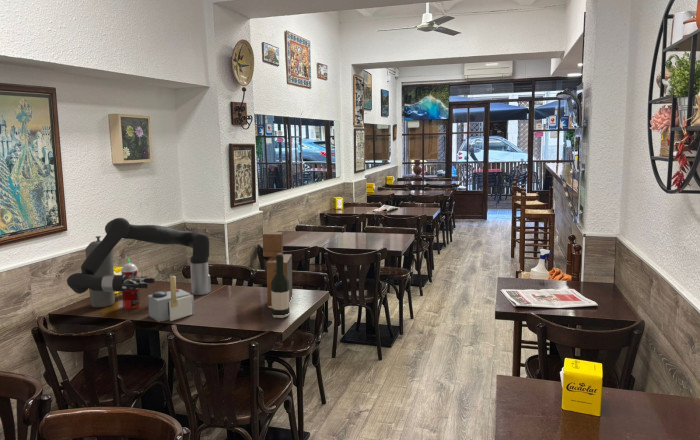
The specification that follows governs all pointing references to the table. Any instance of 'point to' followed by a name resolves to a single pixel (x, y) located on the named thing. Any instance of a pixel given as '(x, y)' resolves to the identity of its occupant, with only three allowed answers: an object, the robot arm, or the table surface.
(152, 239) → the robot arm
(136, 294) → the canned food
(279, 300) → the wine bottle
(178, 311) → the side door
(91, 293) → the canister
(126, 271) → the smoothie
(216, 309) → the table surface
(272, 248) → the stacked wooden blocks
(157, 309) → the camera body
